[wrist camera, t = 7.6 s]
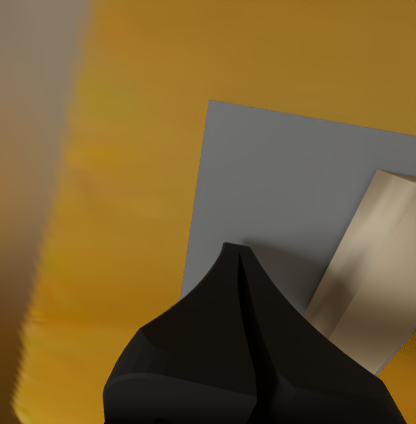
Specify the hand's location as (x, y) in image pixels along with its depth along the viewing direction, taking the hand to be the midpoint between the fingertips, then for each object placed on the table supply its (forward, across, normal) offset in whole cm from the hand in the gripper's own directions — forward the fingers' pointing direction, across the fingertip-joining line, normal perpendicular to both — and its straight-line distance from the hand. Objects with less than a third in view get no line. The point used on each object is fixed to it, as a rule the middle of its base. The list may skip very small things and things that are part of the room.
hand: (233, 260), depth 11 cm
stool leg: (+1, -6, +3) cm, 7 cm away
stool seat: (+2, -4, +2) cm, 5 cm away
